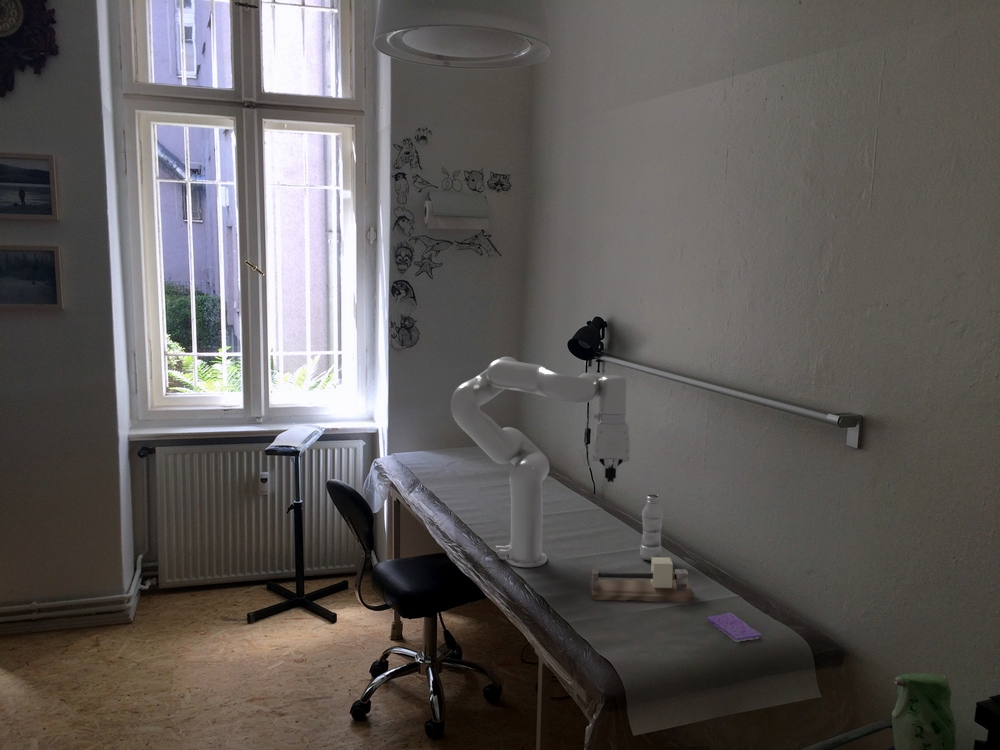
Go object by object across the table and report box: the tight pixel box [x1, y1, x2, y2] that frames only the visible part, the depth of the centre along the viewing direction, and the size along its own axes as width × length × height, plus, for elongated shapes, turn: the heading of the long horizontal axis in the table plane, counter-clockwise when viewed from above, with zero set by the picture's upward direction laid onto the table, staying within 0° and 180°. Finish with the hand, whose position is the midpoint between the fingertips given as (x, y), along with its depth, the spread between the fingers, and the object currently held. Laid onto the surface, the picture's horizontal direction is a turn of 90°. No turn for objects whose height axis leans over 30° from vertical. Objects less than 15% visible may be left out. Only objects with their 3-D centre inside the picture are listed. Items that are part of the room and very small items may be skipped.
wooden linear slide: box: [589, 568, 695, 603], centre depth 217 cm, size 27×10×6 cm, turn 88°
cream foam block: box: [650, 556, 674, 588], centre depth 217 cm, size 5×5×7 cm
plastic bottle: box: [639, 494, 664, 562], centre depth 241 cm, size 6×7×20 cm
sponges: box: [707, 612, 761, 640], centre depth 197 cm, size 7×13×2 cm, turn 18°
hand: (610, 480), depth 230 cm, fingers closed
